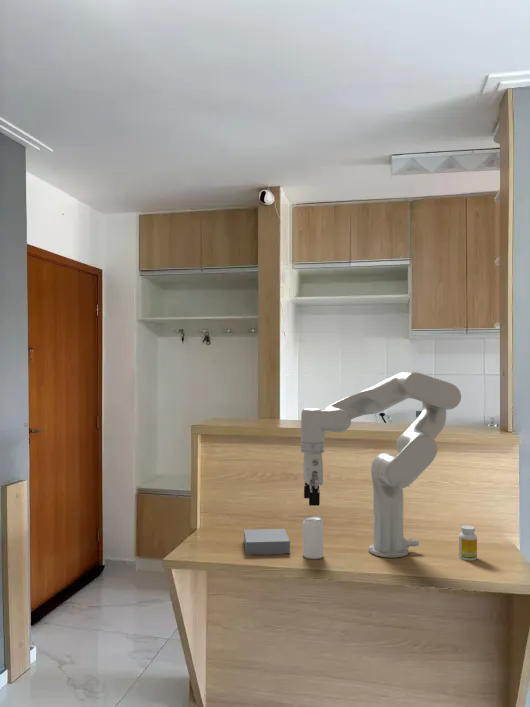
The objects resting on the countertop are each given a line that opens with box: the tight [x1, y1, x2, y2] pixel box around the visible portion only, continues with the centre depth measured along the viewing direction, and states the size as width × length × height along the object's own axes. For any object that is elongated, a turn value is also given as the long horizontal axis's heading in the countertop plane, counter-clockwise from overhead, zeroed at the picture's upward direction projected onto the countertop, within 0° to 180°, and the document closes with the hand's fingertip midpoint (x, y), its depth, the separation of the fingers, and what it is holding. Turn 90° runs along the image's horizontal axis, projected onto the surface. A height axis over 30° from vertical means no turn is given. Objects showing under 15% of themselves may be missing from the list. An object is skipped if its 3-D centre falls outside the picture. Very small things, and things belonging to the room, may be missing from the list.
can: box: [302, 515, 324, 560], centre depth 182 cm, size 6×6×12 cm
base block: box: [243, 528, 291, 556], centre depth 191 cm, size 14×14×4 cm
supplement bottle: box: [458, 525, 478, 562], centre depth 181 cm, size 5×5×10 cm
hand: (311, 501), depth 182 cm, fingers open, 9 cm apart
